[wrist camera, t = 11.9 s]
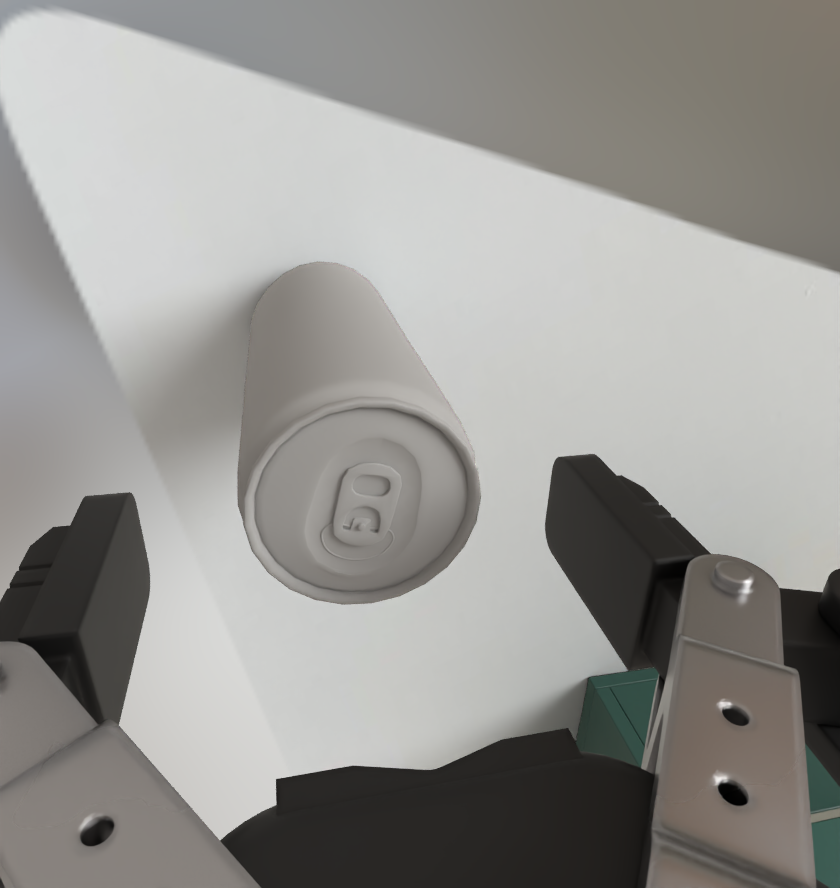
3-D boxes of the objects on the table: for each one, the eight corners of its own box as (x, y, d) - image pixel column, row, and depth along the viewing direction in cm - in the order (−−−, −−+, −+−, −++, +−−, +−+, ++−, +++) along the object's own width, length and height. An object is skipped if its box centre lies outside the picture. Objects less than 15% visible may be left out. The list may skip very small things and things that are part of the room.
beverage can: (241, 379, 23) (219, 604, 12) (261, 243, 21) (253, 372, 11) (372, 400, 24) (451, 616, 14) (402, 274, 22) (520, 414, 12)
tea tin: (720, 769, 41) (825, 922, 33) (563, 799, 39) (636, 969, 31) (763, 650, 36) (896, 795, 28) (588, 676, 34) (681, 840, 26)
